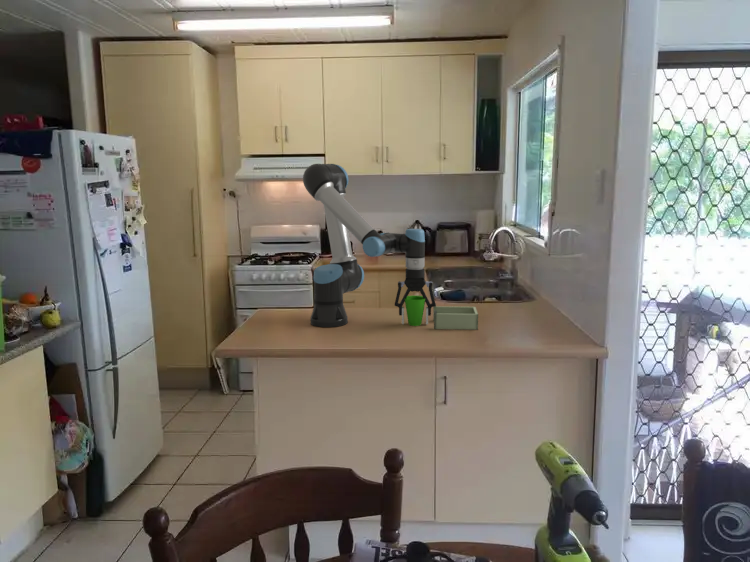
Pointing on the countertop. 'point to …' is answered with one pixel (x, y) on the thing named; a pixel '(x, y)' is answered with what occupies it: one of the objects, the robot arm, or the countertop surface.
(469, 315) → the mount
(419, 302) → the cup
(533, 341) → the countertop surface
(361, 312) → the countertop surface
